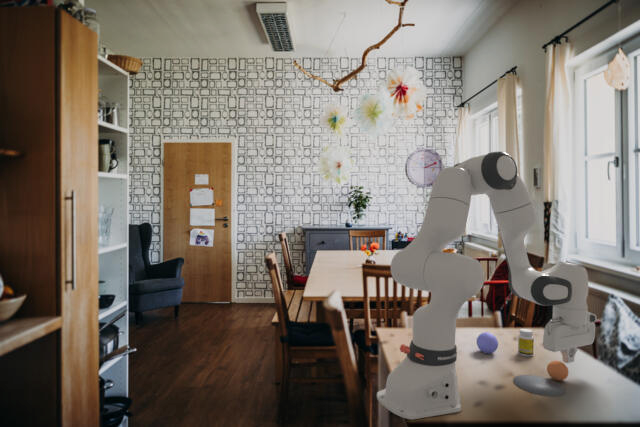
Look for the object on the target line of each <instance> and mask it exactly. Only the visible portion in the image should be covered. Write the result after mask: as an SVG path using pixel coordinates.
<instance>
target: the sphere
mask: <svg viewBox="0 0 640 427" xmlns="http://www.w3.org/2000/svg"><path fill="white" fill-rule="evenodd" d="M475 343H476V346H477V347H478V350H480V351H481V353H485V354H492V353H493V354H494V353H495V352H496V351H497V350H498V348H499V342H498V338H497V337H496V336H495V335H494V334H492V333H491V332H482V333H480V334H479V335H478V336H477V338H476V342H475Z"/></svg>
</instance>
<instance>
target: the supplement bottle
mask: <svg viewBox="0 0 640 427" xmlns="http://www.w3.org/2000/svg"><path fill="white" fill-rule="evenodd" d="M533 335H534V334H533V330H532V329H529V328H520V329H519V335H518V338H517V341H518V342H517V353H518V355H521V356H524V357H532V356H534V336H533Z"/></svg>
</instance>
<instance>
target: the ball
mask: <svg viewBox="0 0 640 427" xmlns="http://www.w3.org/2000/svg"><path fill="white" fill-rule="evenodd" d="M546 372H547V374H548V375H549V377H550V378H551V379H552V380H554V381H564V380H566V379H567V378H568V376H569V368H568V367H567V365H566V364H565V362H563V361H561V360H551V361H550V362H548V364H547V367H546Z"/></svg>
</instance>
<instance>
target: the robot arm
mask: <svg viewBox="0 0 640 427" xmlns="http://www.w3.org/2000/svg"><path fill="white" fill-rule="evenodd" d="M478 195H486V196H487V197H488V198H489V203H490V206H491V210H492V212H493V215H494V217H495V220H496V224H497V227H498V230H499V234H500V236H499V237H500V240H501V241H500V242H501V244H502V245H501V246H502V248H503V253H504V257H505V260H506V263H507V267H508V288H509V290H510V292H511V293H512V294H513V295H514V296H515V297H517V298H520V299H521V300H522V299H523V300H526V301H529V302H532V303H534V304H537V305H540V306H545V307H548V306H550V307H551V306H552V318H550V319H549V321H548V322H547V323H546V325H545V326H544V330H543V337H542V347H543V349H544V350H547V351H549V352H553V353H556V352H560V353H561V356H562V357H561V358H562V363H564V364H565V363H566V364H569V363H573V362H574V363H575V357H576V354H577V352H578V348H579V347H584V346H588V345H592V344H593V343H594V341H595V338H596V324H595V323H596V322H597V320H598V319H597V315H596V314H594V313H592V312H590V311H589V310H588V309H589V307H588V303H587V298H588V295H589V275H588V271H587V269H586V267H584V266H583V265H580V264H578V263H577V264H576V263H572V262H567V261H557V262H556V264H554V265H553V266H551V267H550V268H546V269H545V270H540V271H539V270H536V269H535V268H534V267H533V266H532V265H531V264H530V263H531V262H530V260H529V256H528V253H527V250H526V249H527V248H526V246H525V238H526V236H527V235H528V234H529V233H530V232H532V231H533V229H534V228H535V227H536V224H537V223H538V220H537V213H536V208H535V206H534V202H533V200H532V197H531V195H530V192H529V191H528V188H527V185H525V183H524V181H523V179H522V178H521V176H520V175H519V173H518V165H517V163H516V161H515V159H514V158H513V157H512V156H511V155H509V154H508V153H507V152H504V151H492V152H489V153H486V154H482V155H479V156H474V157H470V158H468V159H466V160H464V161H462V162H459V163H455V165H453V166H447V167H444V168H443V169H441V170H440V171H438V174H437V176H436V178H435V180H434V182H433V185H432V188H431V192H430V194H429V199H428V202H427V206H426V210H425V213H424V218H423V222H422V224H421V227H420V229H419V231H418V232H417V234H416V235H415V237H414V238H413V239H412V241H411V242H410V243H409V244H408V245H407V246H406V247H404V248H402V249H401V250H399V251H397V253H396V254H395V255H394V256H393V257H392V260H391V263H390V273H391V277H392V279H393V280H394V282H396V283H397V284H399V285H401V286H404V287H405V288H409V289H412V290H418V291H424V292H429V293H431V295H430V301H429V303H426V304H424V305H422V306H419V307H418V308H417V309H416V310H415V311H414V313H413V314H412V336H411V337H412V340H410V343H409V346H408V345H405V344H401V345H400V346H399V351H400V352H401V353H404V354H406V357H405V358H404V359H403V360H402V361H401V362H400V363H399V364H398V365H397V366H395V368H394V369H392V370H391V372H389V374H388V375H387V378H386V384H385V388H384V389H381V390H379V391H377V392H376V399H377V401H378V402H379V403H380V404H381V405H382V406H383V407H384V408H385V409H387V410H388V411H390V412H391V413H393V414H394V415H396V416H399V417H400V418H403V419H407V420H418V419H419V420H420V419H424V418H430V417H436V416H441V415H448V414H454V413H460V412H461V411H462V404H461V400H462V398H461V395H460V391H459V385H458V384H459V383H458V375H457V370H456V361H457V356H458V351H457V349H458V348H457V345H456V332H457V331H456V329H457V320H458V316H459V313H460V310H461V309H462V307H463V305H465V303H466V302H467V301H468V300H470V299H471V298H473V297H475V296H476V295H477V294H479V293H480V291H481V290H482V288H483V286H484V284H485V278H486V277H485V270H484V267H483V266H482V264H481V262H480V261H479V260H478V259H476V258H474V257H471V256H468V255H465V254H461V253H453V252H444V250H445V249H446V247H447V246H448V245H450V244H451V243H454V242H456V241H458V240H459V239H461V238H462V237H463V235H464V234H465V232H466V227H467V222H468V218H469V211H470V207H471V206H470V205H471V200H472V196H478Z"/></svg>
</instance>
